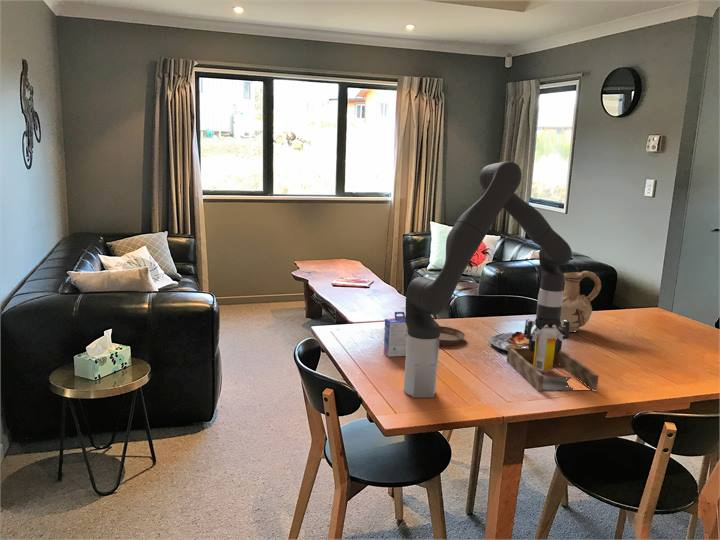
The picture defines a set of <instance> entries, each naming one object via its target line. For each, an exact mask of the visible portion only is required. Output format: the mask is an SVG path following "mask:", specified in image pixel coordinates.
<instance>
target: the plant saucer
mask: <svg viewBox="0 0 720 540" xmlns="http://www.w3.org/2000/svg"><path fill="white" fill-rule="evenodd" d="M439 326H440V341H439V346H445V347H446V346H454V345H455V346H456V345H457V344H460V343H461V342H462V341H463V340H464V338H465V337H466V334H465V333H464V331H461V330H459V329H456V328H453V327H449V326H442V325H439Z"/></svg>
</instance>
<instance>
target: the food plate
mask: <svg viewBox="0 0 720 540" xmlns="http://www.w3.org/2000/svg"><path fill="white" fill-rule="evenodd" d="M535 341H536V340H535ZM488 342H489V343H490V344H492V345H493V346H494V347H496V348H498V349H500V350H504V351H505V352H508V347H511V348H521V347H526V348H528V346H527V345H529V339H527V338H526V337H524V332H522V331H515V332H502V333H499V334H496V335H495V336H491V337H489V338H488ZM535 343H536V342H535ZM503 345H504V346H505V348H504V347H502V346H503Z"/></svg>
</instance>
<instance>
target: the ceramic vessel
mask: <svg viewBox="0 0 720 540" xmlns="http://www.w3.org/2000/svg"><path fill="white" fill-rule="evenodd" d="M563 274H564V286H563V302H562V311H561V318H560V321H563V320H564V319H565V320H567V321H568V322H569V332H574V331H578V332H579V329H580V328H581V327H583V326H585V325H586V324H587V323H588V322H589V321H590V318H591V315H592V312H593V307H592V304H591V301H593V300H594V299H595V298H596V297H597V296H598V295H599V293H600V292H601V289H602V281H601V279H600V278H599V276H598V275H597V274H596V273H594V272H592V271H589V270H583V271H581V272H576V271H575V272H574V271H573V272H571V271H570V272H564V273H563ZM584 278H589V279H590V280H591V281H593V283H594V287H593V289H592V291H591V292H590V293H589V294H588V296H586V295H585V294H580V290H581V289H580V288H581V287H580V283H581V281H582V280H583V279H584ZM559 329H560V330H559ZM558 330H559V331H562V326H561V325H560V326H559V327H558Z"/></svg>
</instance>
